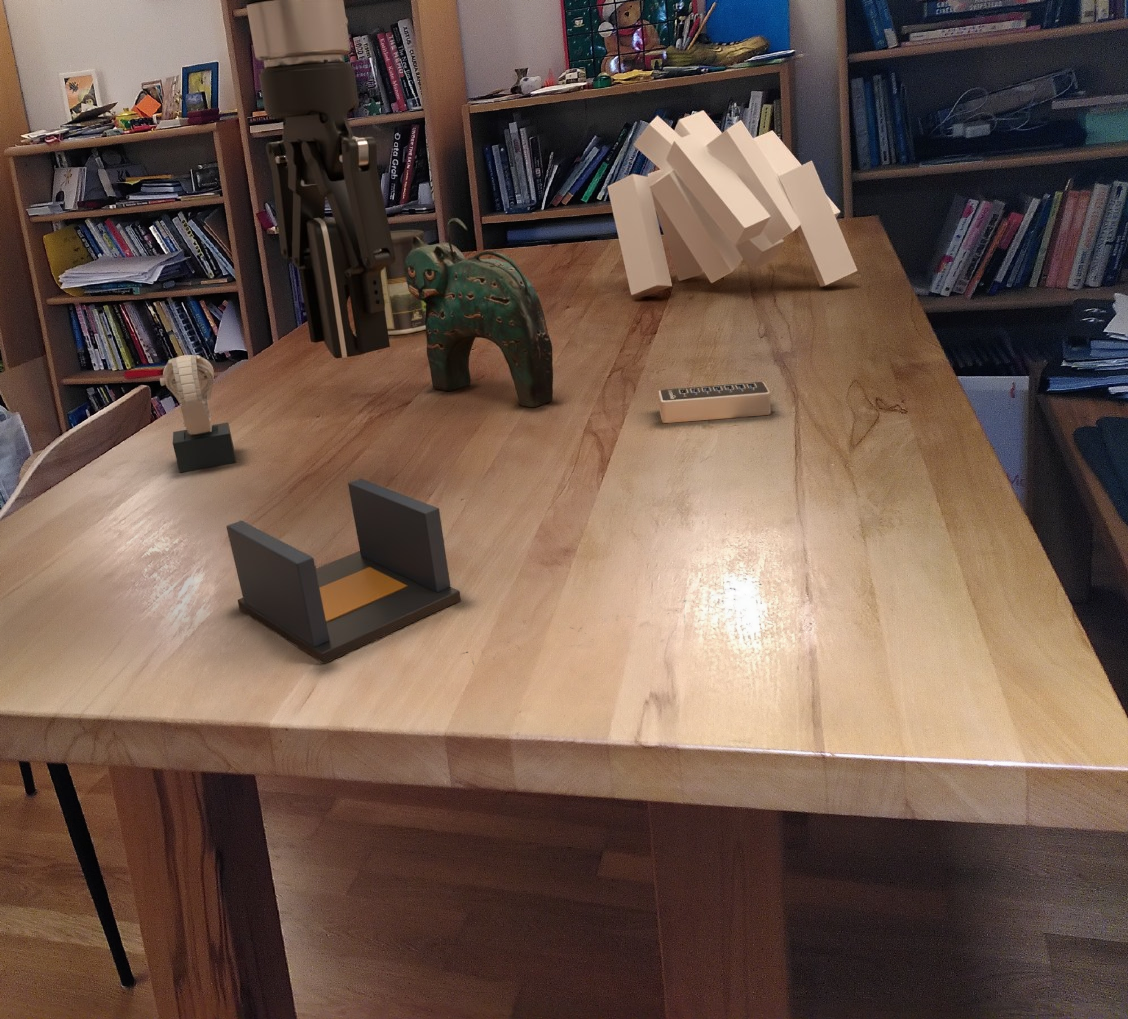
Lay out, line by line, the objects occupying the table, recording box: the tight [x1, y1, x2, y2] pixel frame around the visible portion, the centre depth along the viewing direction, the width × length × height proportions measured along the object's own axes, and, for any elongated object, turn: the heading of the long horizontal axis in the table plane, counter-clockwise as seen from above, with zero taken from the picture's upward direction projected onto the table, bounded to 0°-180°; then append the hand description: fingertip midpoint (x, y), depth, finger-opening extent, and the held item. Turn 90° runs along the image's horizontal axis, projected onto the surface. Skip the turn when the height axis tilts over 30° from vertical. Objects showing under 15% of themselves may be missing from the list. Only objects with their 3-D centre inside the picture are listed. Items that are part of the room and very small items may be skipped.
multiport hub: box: [658, 381, 771, 424], centre depth 107 cm, size 4×11×2 cm, turn 89°
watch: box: [159, 354, 237, 474], centre depth 105 cm, size 6×8×11 cm
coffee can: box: [380, 229, 426, 336], centre depth 158 cm, size 10×10×14 cm
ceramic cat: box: [405, 217, 554, 408], centre depth 118 cm, size 20×6×20 cm, turn 45°
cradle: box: [225, 478, 461, 664], centre depth 72 cm, size 12×11×7 cm
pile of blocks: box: [607, 110, 858, 297], centre depth 165 cm, size 35×30×35 cm
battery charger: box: [306, 216, 366, 360], centre depth 90 cm, size 7×4×11 cm, turn 19°
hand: (349, 343), depth 92 cm, fingers closed on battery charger, 7 cm apart
